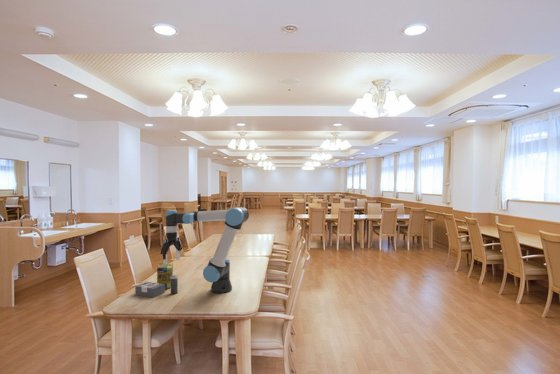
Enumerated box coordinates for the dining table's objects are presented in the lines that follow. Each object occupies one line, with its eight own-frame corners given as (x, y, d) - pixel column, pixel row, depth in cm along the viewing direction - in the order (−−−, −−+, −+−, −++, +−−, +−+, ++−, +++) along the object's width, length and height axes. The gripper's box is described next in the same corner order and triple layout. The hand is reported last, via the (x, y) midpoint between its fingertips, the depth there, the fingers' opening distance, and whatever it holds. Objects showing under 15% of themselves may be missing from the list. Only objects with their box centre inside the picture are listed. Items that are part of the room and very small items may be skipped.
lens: (179, 292, 233) (179, 275, 233) (174, 294, 228) (174, 277, 228) (173, 291, 234) (173, 274, 234) (169, 293, 230) (169, 276, 230)
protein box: (156, 289, 240) (157, 268, 240) (158, 283, 255) (158, 263, 255) (171, 288, 243) (172, 267, 243) (172, 282, 258) (173, 262, 258)
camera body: (165, 292, 233) (165, 283, 233) (153, 297, 222) (153, 287, 222) (147, 289, 239) (147, 280, 239) (134, 294, 227) (134, 285, 227)
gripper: (178, 229, 246) (179, 257, 246) (154, 234, 223) (155, 265, 223) (186, 229, 243) (187, 258, 243) (163, 234, 220) (163, 266, 220)
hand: (171, 261), depth 233 cm, fingers open, 13 cm apart
